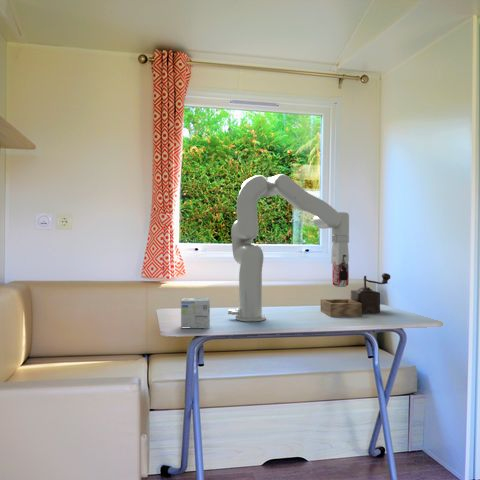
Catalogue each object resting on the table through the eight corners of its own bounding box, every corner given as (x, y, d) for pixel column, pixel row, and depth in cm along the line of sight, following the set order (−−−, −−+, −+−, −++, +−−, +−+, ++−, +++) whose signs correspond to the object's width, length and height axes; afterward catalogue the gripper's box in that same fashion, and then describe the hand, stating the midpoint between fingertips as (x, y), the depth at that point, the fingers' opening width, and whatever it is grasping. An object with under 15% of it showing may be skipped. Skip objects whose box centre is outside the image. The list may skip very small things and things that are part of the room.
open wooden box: (330, 316, 179) (330, 304, 179) (320, 311, 193) (320, 299, 193) (361, 316, 180) (361, 303, 180) (349, 310, 194) (349, 298, 194)
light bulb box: (209, 325, 162) (209, 297, 162) (209, 328, 155) (209, 300, 155) (182, 325, 161) (182, 297, 161) (180, 329, 155) (180, 300, 155)
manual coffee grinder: (359, 313, 186) (359, 273, 186) (350, 309, 197) (350, 271, 197) (392, 313, 188) (392, 273, 188) (381, 309, 199) (381, 271, 199)
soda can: (349, 287, 182) (349, 260, 182) (332, 287, 184) (332, 259, 184) (348, 285, 189) (348, 259, 189) (332, 285, 191) (332, 259, 191)
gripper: (326, 239, 195) (326, 277, 195) (339, 239, 177) (339, 281, 177) (341, 239, 196) (341, 277, 196) (356, 239, 178) (356, 281, 178)
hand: (340, 279), depth 187 cm, fingers closed on soda can, 6 cm apart
